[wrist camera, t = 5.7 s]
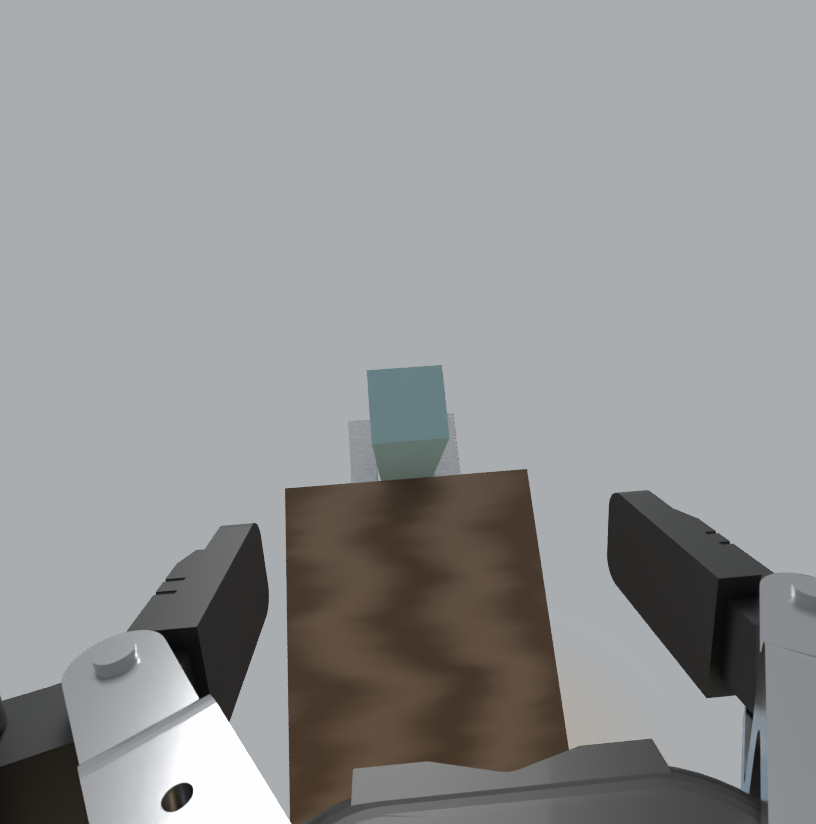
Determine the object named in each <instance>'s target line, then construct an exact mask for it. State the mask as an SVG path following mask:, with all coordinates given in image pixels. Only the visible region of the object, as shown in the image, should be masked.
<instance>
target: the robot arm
mask: <svg viewBox="0 0 816 824" xmlns="http://www.w3.org/2000/svg"><path fill="white" fill-rule="evenodd" d="M607 548H608V549H607V560H608V566H609V571H610V574H611V576H612V579H613V581H614V582H615V584H616V585H617V587H618V588H619V589H620V590H621V592H622V593H623V594H624V595H625V597H626V598H627V599H628V600H629V602H630V603H631V604H632V605H633V607H634V608H635V609H636V610H637V611H638V613H639V614H640V615H641V616H642V618H643V619H644V620H645V622H646V623H647V624H648V625H649V627H650V628H651V629H652V630H653V632H654V633H655V634H656V635H657V637H658V638H659V639H660V640H661V642H662V643H663V644H664V645H665V647H666V648H667V649H668V650H669V651H670V653H671V654H672V655H673V657H674V658H675V659H676V660H677V661H678V663H679V664H680V665H681V667H682V668H683V669H684V670H685V672H686V673H687V674H688V675H689V677H690V678H691V679H692V680H693V682H694V683H695V684H696V685H697V687H698V688H699V689H700V690H701V692H702V693H703V694H704V695H705V697H706V698H712V697H723V696H733V695H736V696H737V697H738V698H739V699H740V700H741V701H742V703H743V704H744V705H745V709H744V717H743V738H742V769H741V790H740V789H738V788H736V787H734V786H732V785H729V784H726V783H725V782H722V781H720V780H718V779H715V778H712V777H709V776H706V775H703V774H700V773H697V772H693V771H689V770H685V769H681V768H677V767H670V766H668V765H667V763H666V761H665V760H664V758H663V757H662V755H661V753H660V752H659V750H658V748H657V747H656V745H655V743H654V742H653V740H652V739H644V740H634V741H624V742H615V743H604V744H594V745H585V746H578V747H576V748H573V749H571V750H568V751H565V752H563V753H560V754H558V755H555V756H552V757H550V758H547V759H545V760H542V761H539V762H537V763H534V764H532V765H529V766H526V767H524V768H521V769H519V770H516V771H512V772H498V771H491V770H484V769H478V768H471V767H464V766H457V765H450V764H443V763H436V762H429V761H426V762H416V763H406V764H397V765H387V766H377V767H367V768H357V769H353V778H352V796H351V798H349V799H347V800H344V801H342V802H339V803H337V804H335V805H333V806H331V807H329V808H327V809H325V810H323V811H321V812H320V813H318V814H317V815H315V816H314V817H312V818H311V819H309V820H308V821H306V822H305V823H303V824H816V577H813V576H809V575H804V574H797V573H773V572H772V571H770V570H769V569H768V568H766V567H765V566H763V565H762V564H761V563H759V562H758V561H756V560H755V559H754V558H752V557H751V556H750V555H748V554H747V553H745V552H744V551H742V550H741V549H740V548H738V547H737V546H736V545H734V544H730V541H728V540H727V539H726V538H725V537H723V536H721V535H720V534H719V533H718V534H716V531H715V530H713V529H712V528H711V527H709V526H708V525H706V524H705V523H704V522H702V521H701V520H699V519H698V518H695V517H693V516H690V515H688V514H685V513H683V512H680V511H678V510H676V509H673V508H672V507H670V506H669V505H667V504H666V503H665V502H664V501H662V500H661V499H660V498H658V497H657V496H656V495H654V494H653V493H651V492H650V491H647V490H645V491H632V492H621V493H614V494H613V495H612V496H611V498H610V502H609V520H608V547H607ZM268 591H269V590H268V581H267V575H266V568H265V561H264V554H263V548H262V541H261V534H260V530H259V527H258V525H257V524H256V523H252V524H240V525H228V526H221V527H220V528H219V529H218V531H217V532H216V534H215V535H214V537H213V538H212V540H211V541H210V543H209V544H208V545H207V547H206V548H205V550H196V551H194V552H193V553H192V554H190V555H189V556H187V557H186V558H184V559H183V560H182V561H180V562H179V563H177V564H176V566H175V567H174V568H173V570H172V571H171V572H170V574H169V575H168V576H167V578H166V581H165V582H163V583H162V585H161V586H160V587H159V589H158V590H157V592H156V595H154V596H153V597H152V598H151V599H150V601H149V602H148V603H147V605H146V606H145V607H144V609H143V610H142V611H141V613H140V614H139V615H138V617H137V618H136V620H135V621H134V622H133V624H132V625H131V626H130V628H129V629H128V630H127V632H125V633H121V634H118V635H115V636H112V637H110V638H107V639H105V640H103V641H101V642H99V643H97V644H95V645H94V646H92V647H90V648H89V649H87V650H86V651H84V652H83V653H82V654H80V655H79V656H78V657H77V658H76V659H75V660H74V661H73V662H72V663H71V664H70V665H69V666H68V668H67V669H66V671H65V673H64V675H63V678H62V683H59V684H57V685H53V686H51V687H47V688H44V689H41V690H37V691H34V692H31V693H28V694H24V695H21V696H17V697H14V698H11V699H7V700H4V701H2V700H1V697H0V824H290V822H289V820H288V819H287V817H286V815H285V814H284V813H283V811H282V809H281V807H280V806H279V804H278V803H277V801H276V799H275V798H274V796H273V794H272V793H271V791H270V789H269V788H268V786H267V784H266V783H265V781H264V779H263V778H262V776H261V775H260V773H259V771H258V770H257V768H256V766H255V765H254V763H253V761H252V760H251V758H250V757H249V755H248V754H247V752H246V750H245V748H244V747H243V745H242V743H241V742H240V740H239V738H238V737H237V735H236V734H235V732H234V730H233V729H232V727H231V725H230V724H229V721H230V718H231V716H232V713H233V710H234V707H235V704H236V701H237V698H238V696H239V693H240V690H241V687H242V684H243V681H244V679H245V676H246V673H247V670H248V667H249V664H250V661H251V659H252V656H253V653H254V650H255V647H256V644H257V641H258V638H259V635H260V633H261V629H262V627H263V624H264V621H265V619H266V615H267V610H268V603H269V592H268Z"/></svg>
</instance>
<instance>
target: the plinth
mask: <svg viewBox="0 0 816 824" xmlns="http://www.w3.org/2000/svg"><path fill="white" fill-rule="evenodd" d="M285 503H286V504H285V505H286V506H285V508H286V573H287V574H286V576H287V640H288V641H287V642H288V643H287V644H288V710H289V776H290V824H303V823H305V822H306V821H308V820H309V819H311V818H312V817H314V816H315V815H317V814H318V813H320V812H321V811H323V810H325V809H327V808H329V807H331V806H333V805H335V804H337V803H339V802H342V801H344V800H347V799H349V798H351V796H352V778H353V769H357V768H367V767H377V766H387V765H397V764H406V763H416V762H426V761H429V762H436V763H443V764H450V765H457V766H464V767H471V768H478V769H484V770H491V771H498V772H512V771H516V770H519V769H521V768H524V767H526V766H529V765H532V764H534V763H537V762H539V761H542V760H545V759H547V758H550V757H552V756H555V755H558V754H560V753H563V752H565V751H568V750H569V748H568V741H567V735H566V728H565V721H564V715H563V708H562V701H561V694H560V689H559V681H558V674H557V668H556V661H555V654H554V647H553V641H552V634H551V627H550V621H549V614H548V608H547V601H546V594H545V588H544V581H543V574H542V567H541V560H540V554H539V547H538V541H537V534H536V527H535V520H534V514H533V507H532V501H531V494H530V487H529V480H528V474H527V469H525V470H524V469H523V470H511V471H498V472H486V473H474V474H461V475H449V476H436V477H424V478H411V479H399V480H386V481H374V482H362V483H349V484H337V485H325V486H312V487H300V488H287V489H285Z"/></svg>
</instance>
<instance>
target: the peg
mask: <svg viewBox="0 0 816 824" xmlns="http://www.w3.org/2000/svg"><path fill="white" fill-rule="evenodd" d="M367 379H368V393H369V410H370V425H371V441H372V447H373V451H374V455H375V459H376V463H377V467H378V470H379V474H380V478H381V481H386V480H399V479H411V478H424V477H433V475H434V473H435V471H436V468H437V466H438V464H439V461H440V459H441V457H442V454H443V452H444V450H445V447H446V445H447V443H448V440H449V438H450V437H449V428H448V419H447V411H446V400H445V392H444V382H443V372H442V365H437V366H424V367H409V368H395V369H381V370H368V371H367Z"/></svg>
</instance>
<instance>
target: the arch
mask: <svg viewBox="0 0 816 824" xmlns="http://www.w3.org/2000/svg"><path fill="white" fill-rule="evenodd" d="M447 419H448V428H449V437H450V438H449V440H448V443H447V445H446V447H445V450H444V452H443V454H442V457H441V459H440V461H439V464H438V466H437V468H436V471H435V473H434V475H433V477H436V476H449V475H460V467H459V458H458V449H457V440H456V431H455V422H454V414H447ZM348 423H349V442H350V461H351V482H352V483H362V482H374V481H378V472H377V463H376V459H375V455H374V451H373V447H372V441H371V425H370V420H363V421H349V422H348Z"/></svg>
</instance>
